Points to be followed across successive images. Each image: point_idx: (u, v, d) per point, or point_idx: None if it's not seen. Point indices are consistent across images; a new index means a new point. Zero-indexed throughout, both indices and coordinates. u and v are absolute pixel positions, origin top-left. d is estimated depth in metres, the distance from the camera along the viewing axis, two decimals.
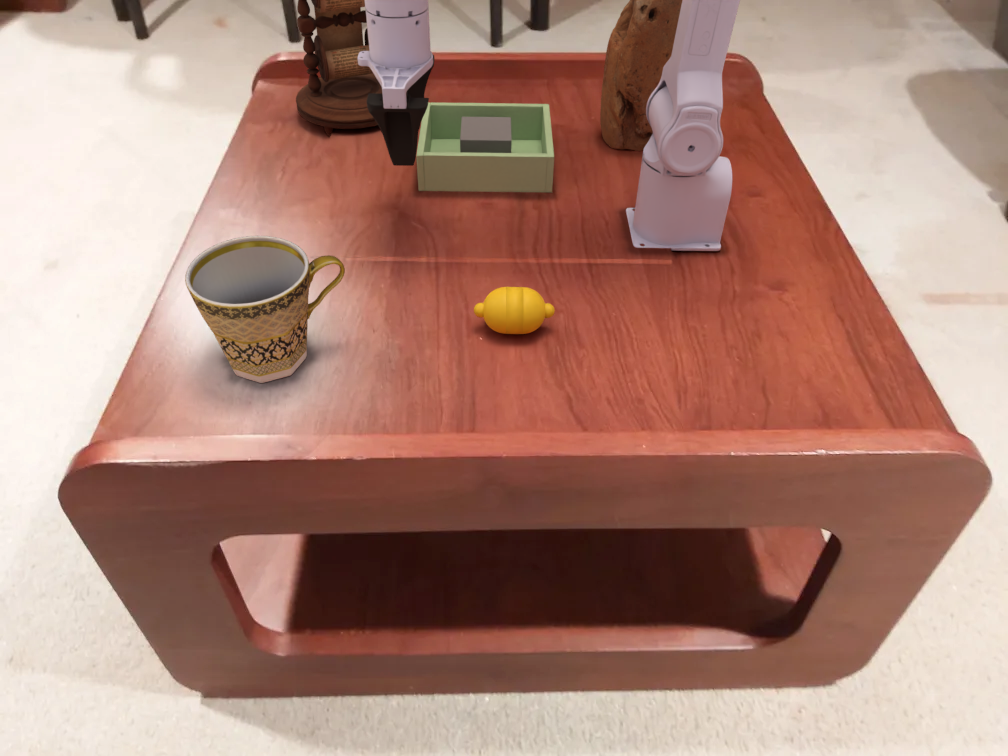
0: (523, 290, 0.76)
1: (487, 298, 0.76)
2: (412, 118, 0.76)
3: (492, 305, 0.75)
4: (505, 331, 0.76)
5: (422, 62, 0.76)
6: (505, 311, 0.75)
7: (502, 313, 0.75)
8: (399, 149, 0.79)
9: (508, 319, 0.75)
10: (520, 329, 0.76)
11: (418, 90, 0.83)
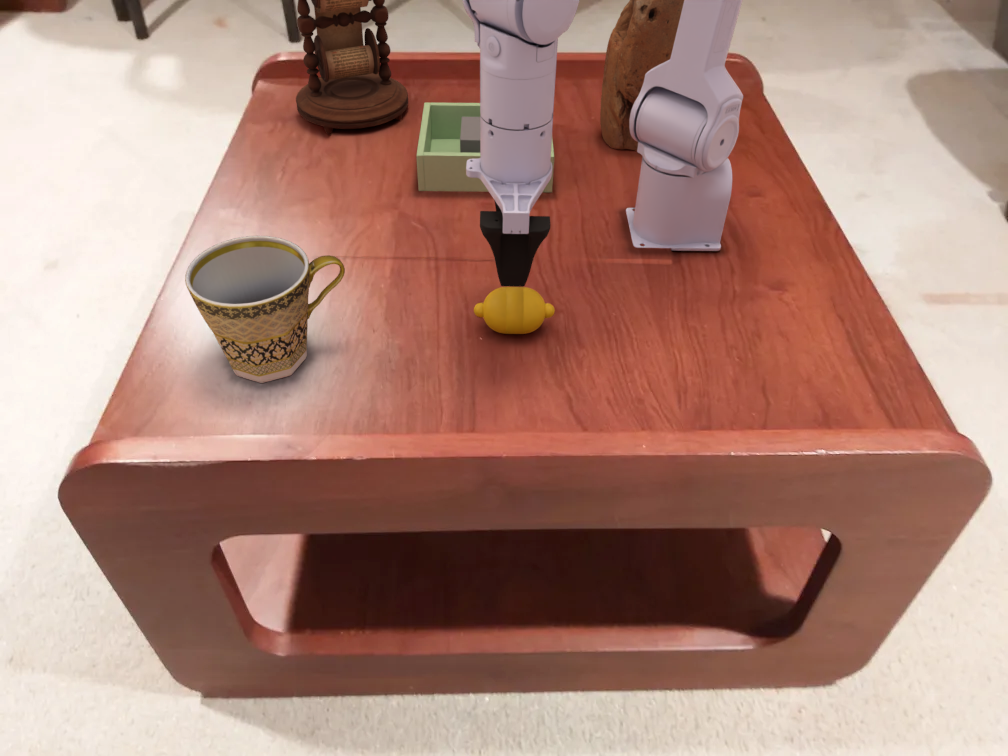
0: (523, 290, 0.76)
1: (487, 298, 0.76)
2: (531, 240, 0.65)
3: (492, 305, 0.75)
4: (505, 331, 0.76)
5: (543, 175, 0.66)
6: (505, 311, 0.75)
7: (502, 313, 0.75)
8: (510, 270, 0.69)
9: (508, 319, 0.75)
10: (520, 329, 0.76)
11: None
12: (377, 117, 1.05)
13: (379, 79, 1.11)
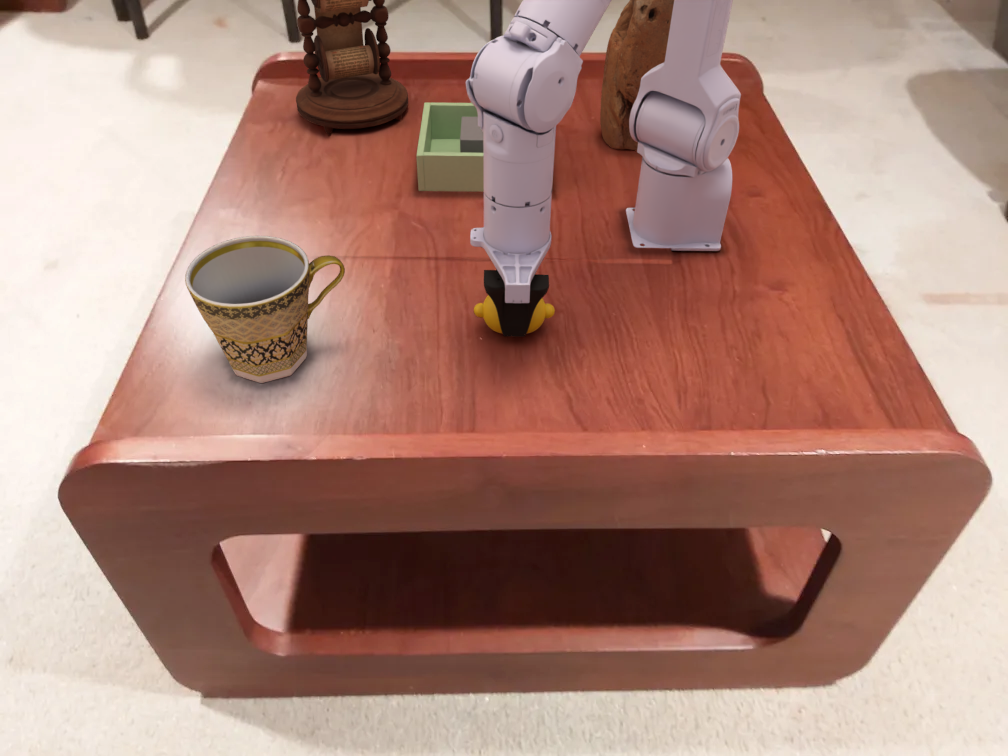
0: None
1: (487, 298, 0.76)
2: (531, 297, 0.70)
3: (492, 305, 0.75)
4: None
5: (542, 245, 0.70)
6: None
7: None
8: (512, 322, 0.74)
9: None
10: None
11: None
12: (377, 117, 1.05)
13: (379, 79, 1.11)
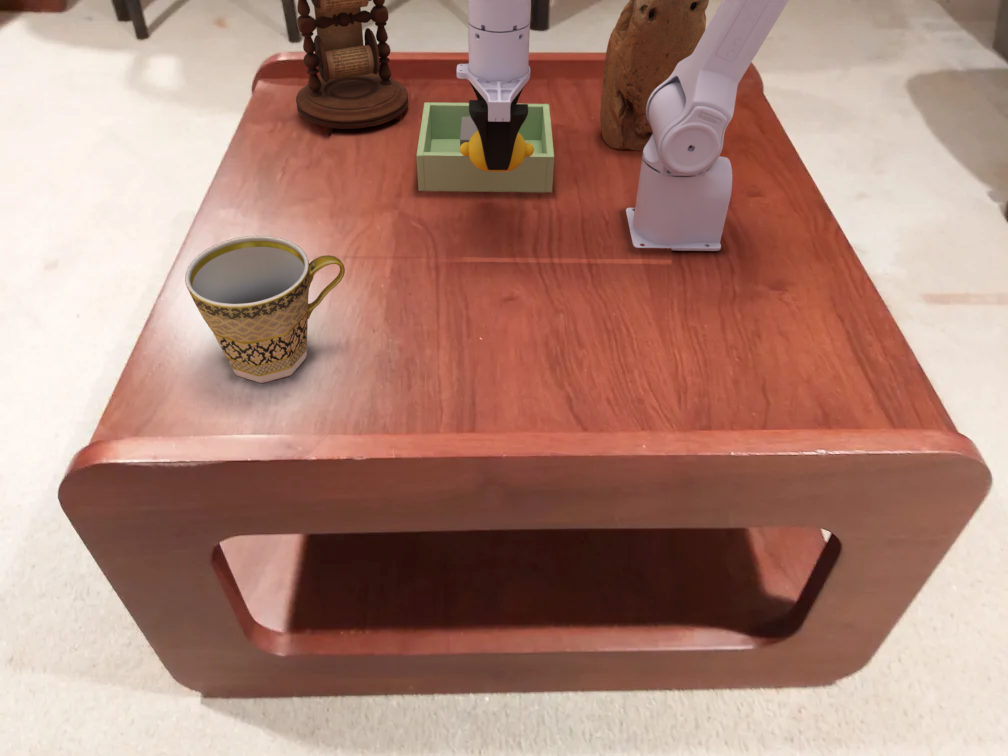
0: None
1: (472, 136, 0.83)
2: (512, 124, 0.78)
3: (477, 141, 0.82)
4: None
5: (522, 75, 0.77)
6: None
7: None
8: (495, 154, 0.81)
9: None
10: None
11: None
12: (377, 117, 1.05)
13: (379, 79, 1.11)
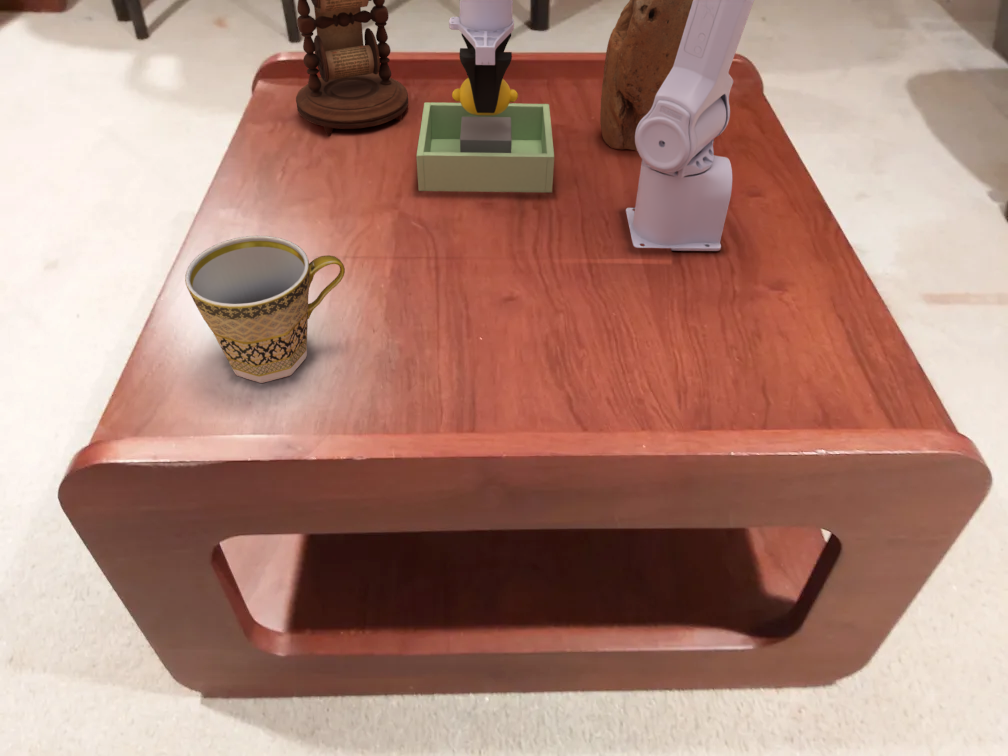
0: None
1: (463, 83, 0.94)
2: (498, 69, 0.88)
3: (467, 86, 0.93)
4: None
5: (506, 26, 0.88)
6: None
7: None
8: (483, 98, 0.92)
9: None
10: None
11: None
12: (377, 117, 1.05)
13: (379, 79, 1.11)
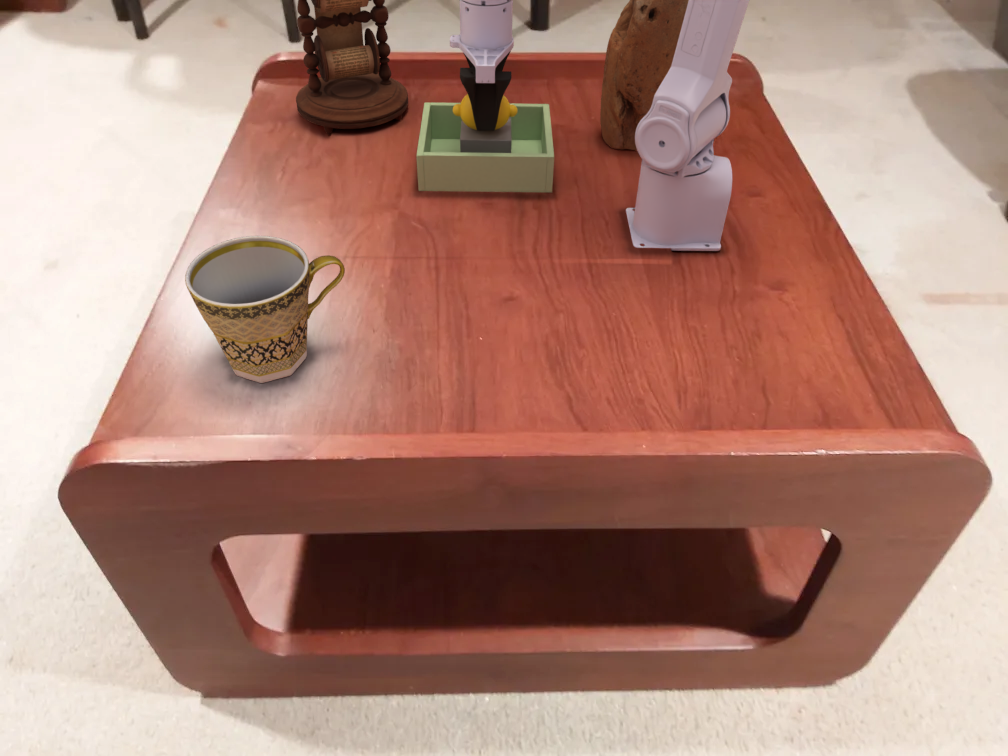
0: None
1: (463, 98, 0.95)
2: (497, 88, 0.89)
3: (467, 101, 0.94)
4: None
5: (506, 44, 0.89)
6: None
7: None
8: (483, 116, 0.93)
9: None
10: None
11: None
12: (377, 117, 1.05)
13: (379, 79, 1.11)
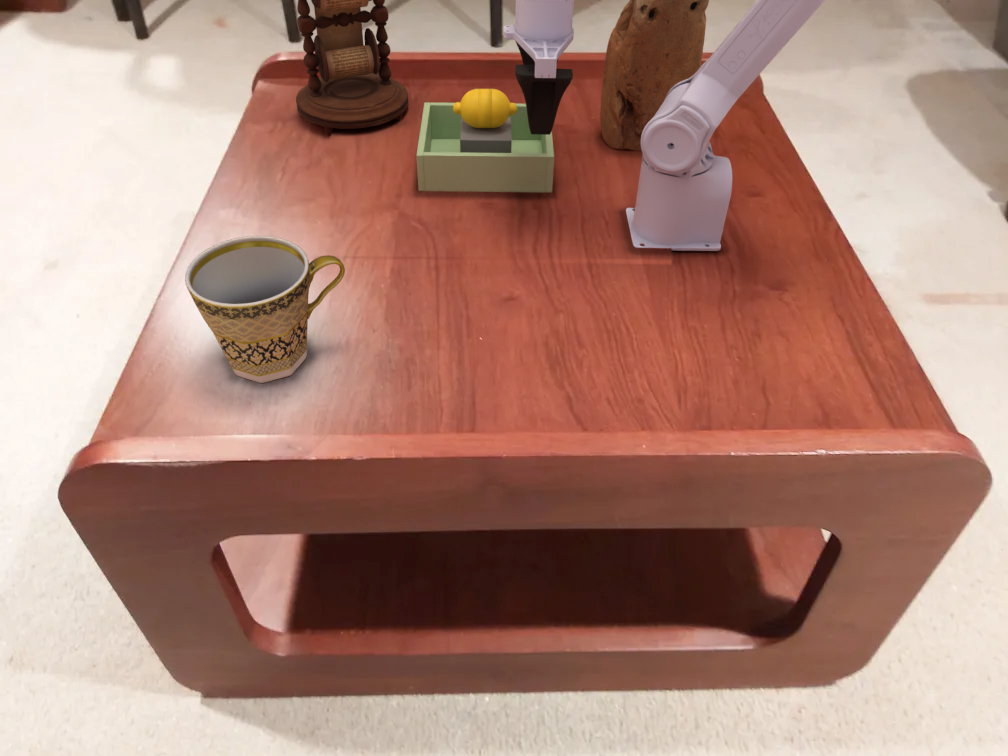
0: (492, 89, 0.95)
1: (463, 96, 0.96)
2: (557, 88, 0.80)
3: (467, 97, 0.95)
4: (477, 120, 0.95)
5: (566, 35, 0.81)
6: (477, 100, 0.94)
7: (475, 102, 0.94)
8: (539, 118, 0.84)
9: (479, 106, 0.94)
10: (490, 117, 0.95)
11: None
12: (377, 117, 1.05)
13: (379, 79, 1.11)
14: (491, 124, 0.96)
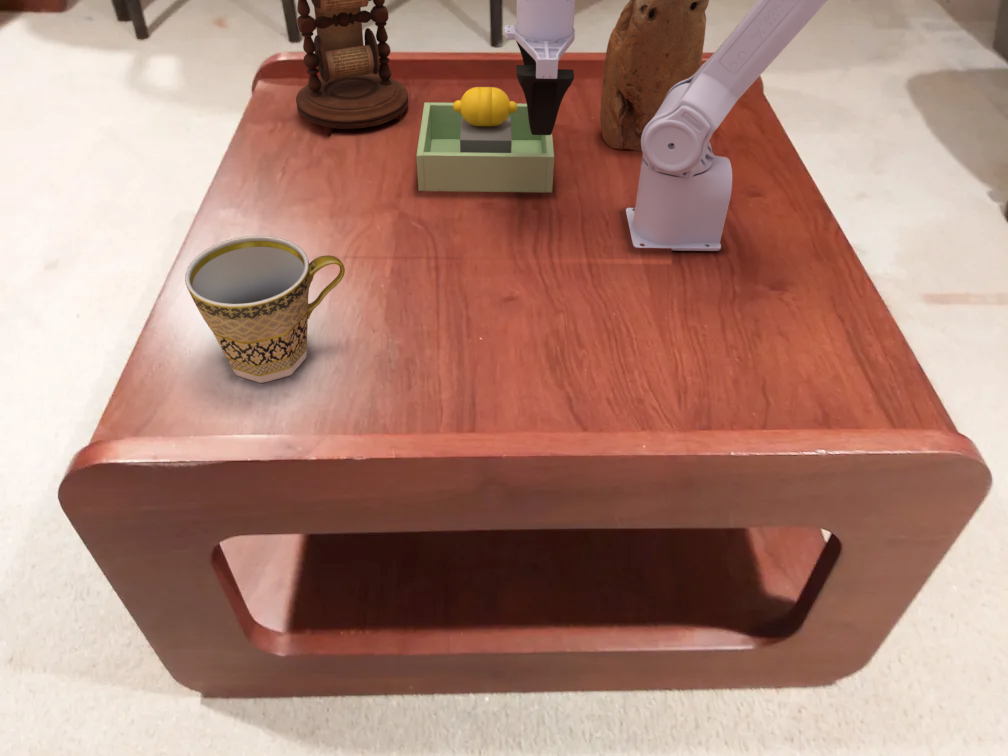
0: None
1: None
2: (558, 88, 0.80)
3: (467, 93, 0.95)
4: (478, 115, 0.95)
5: (567, 36, 0.80)
6: (477, 94, 0.95)
7: (475, 96, 0.94)
8: (539, 119, 0.84)
9: (479, 100, 0.94)
10: (490, 112, 0.95)
11: None
12: (377, 117, 1.05)
13: (379, 79, 1.11)
14: (491, 120, 0.96)
